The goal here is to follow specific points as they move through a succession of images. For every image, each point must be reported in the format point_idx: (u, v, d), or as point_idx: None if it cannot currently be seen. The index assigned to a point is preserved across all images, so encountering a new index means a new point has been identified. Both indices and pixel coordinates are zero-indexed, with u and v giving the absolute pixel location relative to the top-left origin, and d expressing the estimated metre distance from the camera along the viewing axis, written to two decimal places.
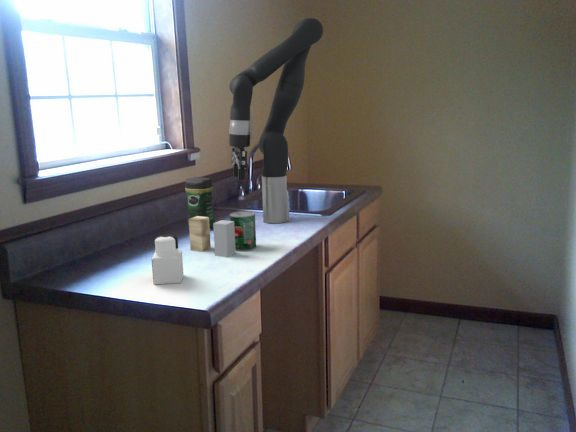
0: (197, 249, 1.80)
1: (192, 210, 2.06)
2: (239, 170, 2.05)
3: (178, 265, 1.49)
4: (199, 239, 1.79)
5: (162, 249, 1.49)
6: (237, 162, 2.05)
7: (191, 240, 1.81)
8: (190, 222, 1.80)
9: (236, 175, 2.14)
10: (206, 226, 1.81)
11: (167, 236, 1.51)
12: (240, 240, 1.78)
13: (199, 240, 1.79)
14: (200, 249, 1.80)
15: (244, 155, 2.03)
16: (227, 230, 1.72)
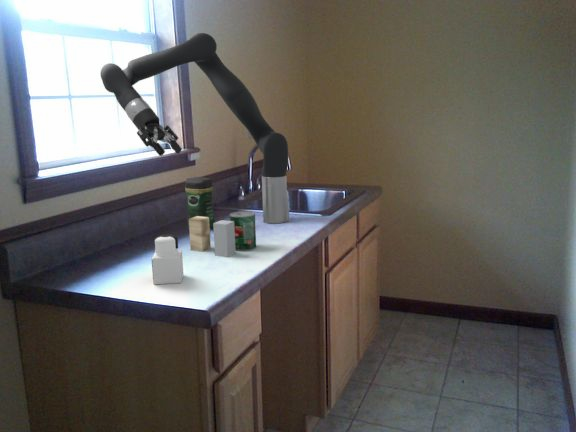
0: (197, 249, 1.80)
1: (192, 210, 2.06)
2: None
3: (178, 265, 1.49)
4: (199, 239, 1.79)
5: (162, 249, 1.49)
6: None
7: (191, 240, 1.81)
8: (190, 222, 1.80)
9: (178, 150, 1.89)
10: (206, 226, 1.81)
11: (167, 236, 1.51)
12: (240, 240, 1.78)
13: (199, 240, 1.79)
14: (200, 249, 1.80)
15: (141, 132, 1.80)
16: (227, 230, 1.72)
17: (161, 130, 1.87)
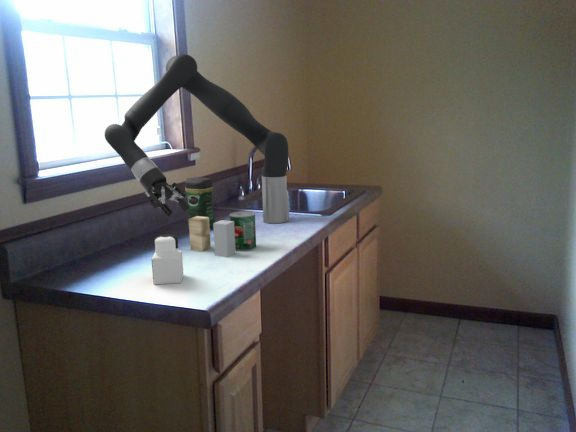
0: (197, 249, 1.80)
1: (192, 210, 2.06)
2: None
3: (178, 265, 1.49)
4: (199, 239, 1.79)
5: (162, 249, 1.49)
6: None
7: (191, 240, 1.81)
8: (190, 222, 1.80)
9: (186, 208, 1.87)
10: (206, 226, 1.81)
11: (167, 236, 1.51)
12: (240, 240, 1.78)
13: (199, 240, 1.79)
14: (200, 249, 1.80)
15: (148, 194, 1.79)
16: (227, 230, 1.72)
17: (168, 189, 1.85)
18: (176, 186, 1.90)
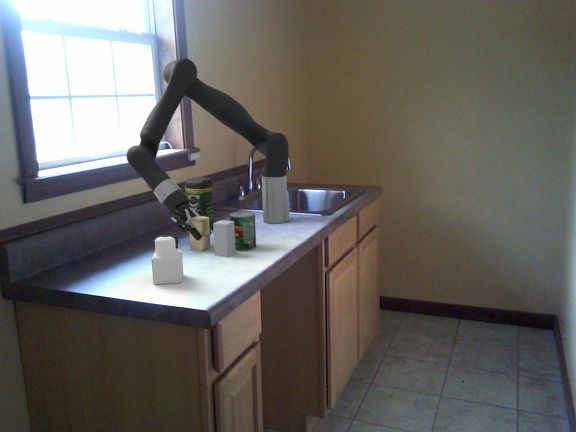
0: (197, 249, 1.80)
1: None
2: None
3: (178, 265, 1.49)
4: None
5: (162, 249, 1.49)
6: (184, 227, 1.80)
7: (191, 240, 1.81)
8: None
9: None
10: (206, 226, 1.81)
11: (167, 236, 1.51)
12: (240, 240, 1.78)
13: (199, 240, 1.79)
14: (200, 249, 1.80)
15: (175, 220, 1.77)
16: (227, 230, 1.72)
17: (191, 211, 1.83)
18: (200, 210, 1.87)
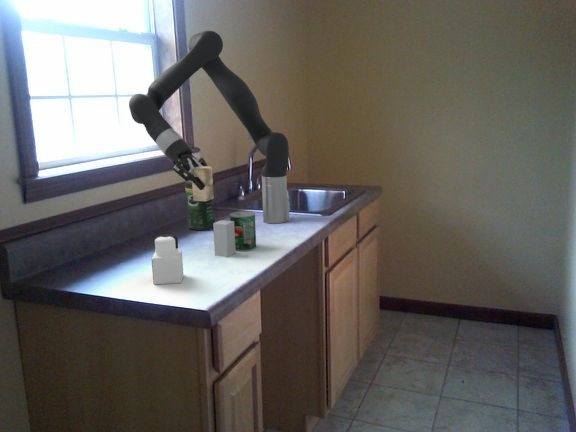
0: (200, 199, 1.77)
1: (192, 210, 2.06)
2: None
3: (178, 265, 1.49)
4: None
5: (162, 249, 1.49)
6: None
7: (194, 190, 1.78)
8: None
9: None
10: (209, 176, 1.78)
11: (167, 236, 1.51)
12: (240, 240, 1.78)
13: (202, 190, 1.76)
14: (203, 199, 1.77)
15: (178, 168, 1.74)
16: (227, 230, 1.72)
17: (194, 161, 1.79)
18: (203, 161, 1.83)
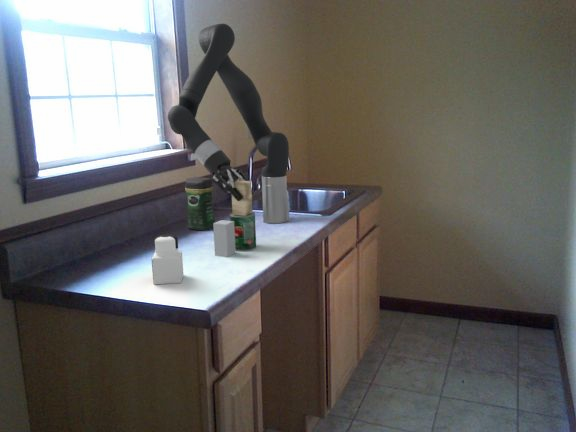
0: (239, 213, 1.78)
1: (192, 210, 2.06)
2: None
3: (178, 265, 1.49)
4: (242, 203, 1.77)
5: (162, 249, 1.49)
6: (225, 187, 1.77)
7: (233, 204, 1.79)
8: None
9: None
10: (249, 190, 1.79)
11: (167, 236, 1.51)
12: (240, 240, 1.78)
13: (242, 204, 1.77)
14: (243, 213, 1.78)
15: (217, 179, 1.74)
16: (227, 230, 1.72)
17: (233, 172, 1.80)
18: (240, 171, 1.84)
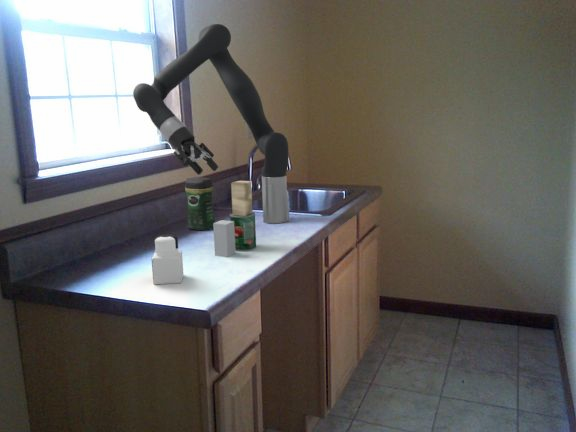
0: (239, 213, 1.78)
1: (192, 210, 2.06)
2: None
3: (178, 265, 1.49)
4: (242, 203, 1.77)
5: (162, 249, 1.49)
6: None
7: (233, 204, 1.79)
8: (233, 186, 1.77)
9: (214, 168, 1.87)
10: (249, 191, 1.79)
11: (167, 236, 1.51)
12: (240, 240, 1.78)
13: (242, 204, 1.77)
14: (243, 213, 1.78)
15: (178, 152, 1.79)
16: (227, 230, 1.72)
17: (197, 148, 1.85)
18: (204, 146, 1.90)
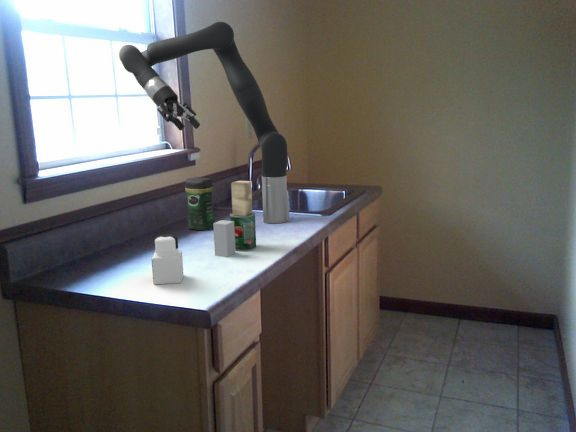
0: (239, 213, 1.78)
1: (192, 210, 2.06)
2: None
3: (178, 265, 1.49)
4: (242, 203, 1.77)
5: (162, 249, 1.49)
6: None
7: (233, 204, 1.79)
8: (233, 186, 1.77)
9: (196, 126, 1.97)
10: (249, 191, 1.79)
11: (167, 236, 1.51)
12: (240, 240, 1.78)
13: (242, 204, 1.77)
14: (243, 213, 1.78)
15: (161, 109, 1.89)
16: (227, 230, 1.72)
17: (180, 106, 1.95)
18: (187, 105, 1.99)
